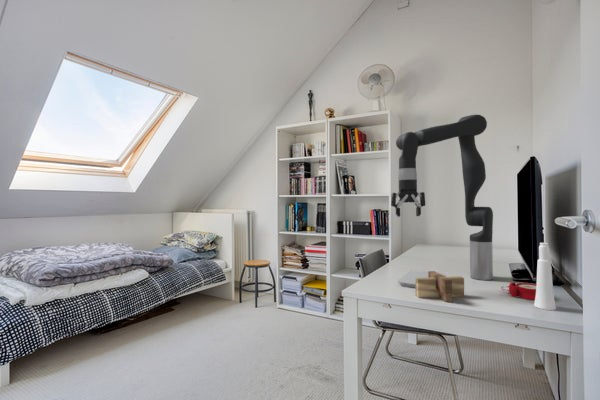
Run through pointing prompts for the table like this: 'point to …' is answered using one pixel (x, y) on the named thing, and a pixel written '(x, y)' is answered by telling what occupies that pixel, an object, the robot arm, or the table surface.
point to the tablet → (413, 278)
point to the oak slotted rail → (428, 288)
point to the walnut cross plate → (442, 286)
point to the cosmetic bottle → (544, 280)
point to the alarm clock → (522, 290)
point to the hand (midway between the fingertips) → (408, 216)
